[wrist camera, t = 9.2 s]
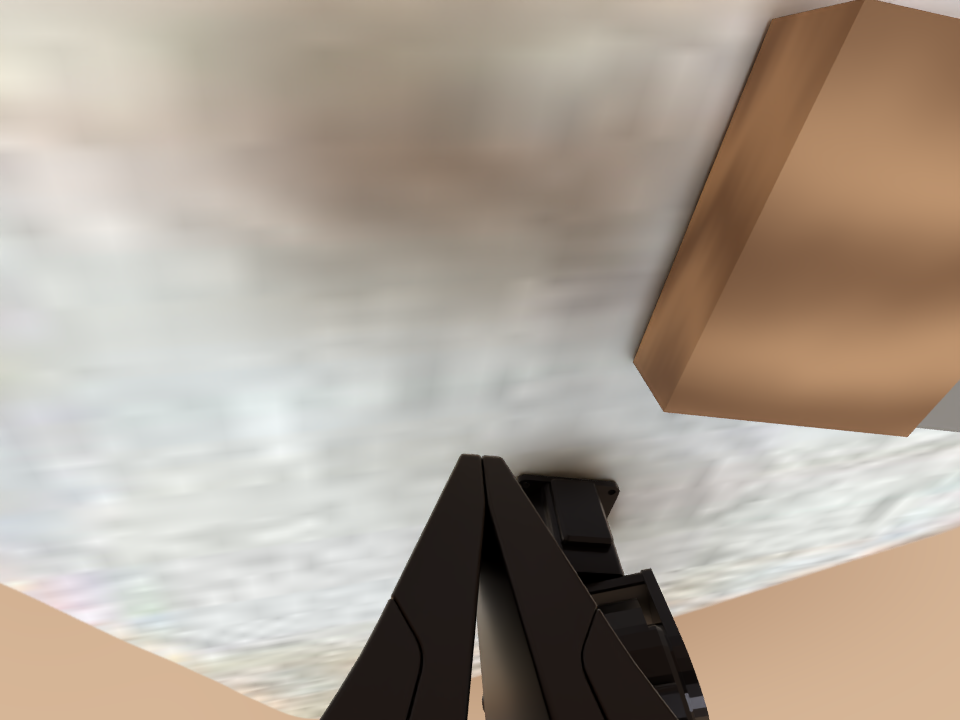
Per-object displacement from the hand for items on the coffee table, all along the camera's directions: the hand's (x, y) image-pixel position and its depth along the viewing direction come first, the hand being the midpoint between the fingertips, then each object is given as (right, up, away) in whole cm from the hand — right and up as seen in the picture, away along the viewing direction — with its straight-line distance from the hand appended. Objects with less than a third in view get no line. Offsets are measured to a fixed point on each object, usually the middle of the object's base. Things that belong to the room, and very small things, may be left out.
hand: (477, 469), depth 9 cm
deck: (+15, +7, +10) cm, 19 cm away
